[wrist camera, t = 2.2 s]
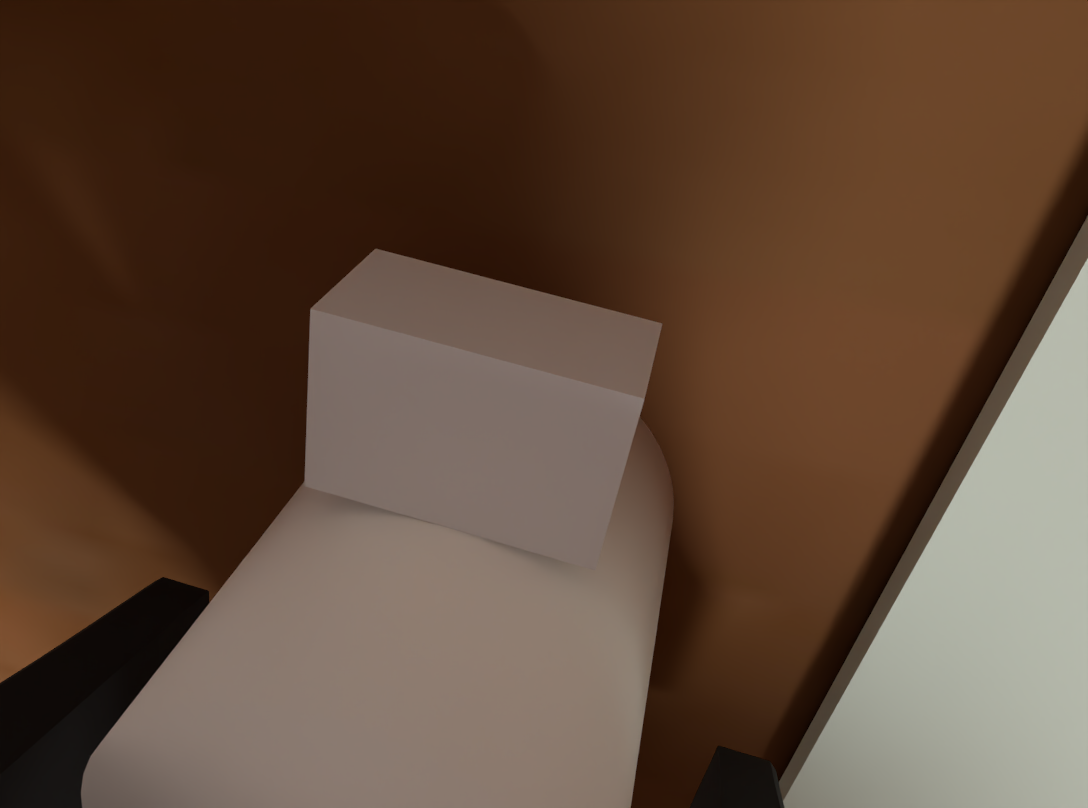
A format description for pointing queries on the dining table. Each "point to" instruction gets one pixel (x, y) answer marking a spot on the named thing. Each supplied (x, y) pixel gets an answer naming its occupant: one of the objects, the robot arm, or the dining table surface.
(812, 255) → the dining table surface
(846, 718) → the mat
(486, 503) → the grey rounded piece
